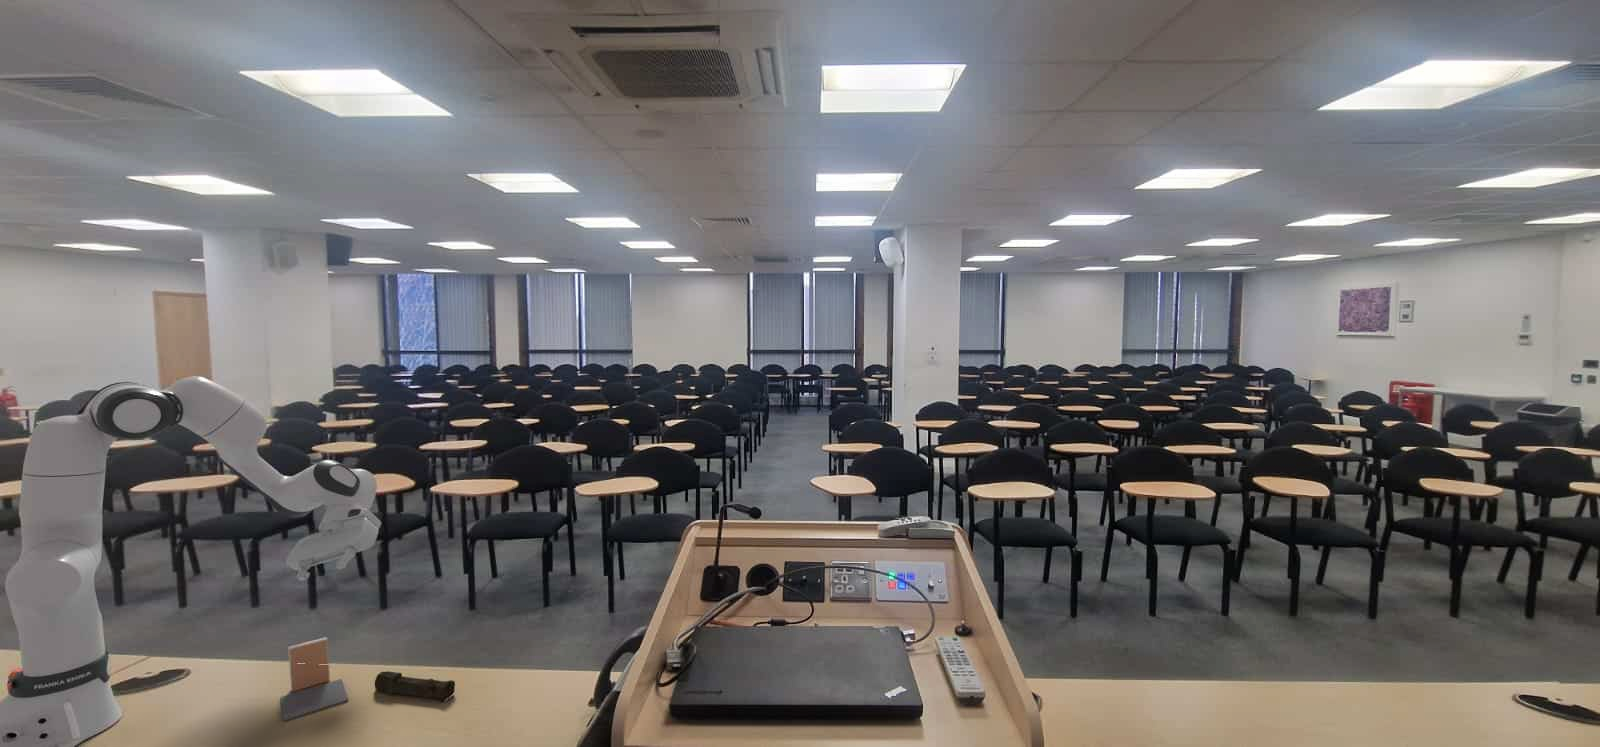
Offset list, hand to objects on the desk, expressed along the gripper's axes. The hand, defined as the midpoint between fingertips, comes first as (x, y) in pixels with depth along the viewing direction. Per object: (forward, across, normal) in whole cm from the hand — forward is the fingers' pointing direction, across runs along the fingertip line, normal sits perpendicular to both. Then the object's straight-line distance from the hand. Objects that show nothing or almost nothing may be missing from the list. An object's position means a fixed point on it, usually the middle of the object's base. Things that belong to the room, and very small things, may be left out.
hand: (320, 573), depth 153 cm
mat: (+24, -1, +13) cm, 27 cm away
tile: (+19, -6, +15) cm, 25 cm away
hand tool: (+27, +18, +19) cm, 37 cm away
